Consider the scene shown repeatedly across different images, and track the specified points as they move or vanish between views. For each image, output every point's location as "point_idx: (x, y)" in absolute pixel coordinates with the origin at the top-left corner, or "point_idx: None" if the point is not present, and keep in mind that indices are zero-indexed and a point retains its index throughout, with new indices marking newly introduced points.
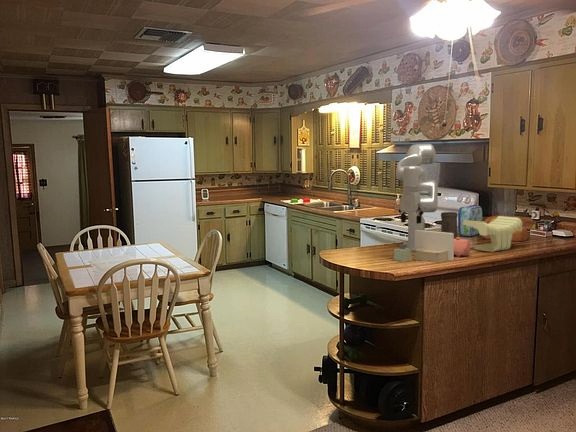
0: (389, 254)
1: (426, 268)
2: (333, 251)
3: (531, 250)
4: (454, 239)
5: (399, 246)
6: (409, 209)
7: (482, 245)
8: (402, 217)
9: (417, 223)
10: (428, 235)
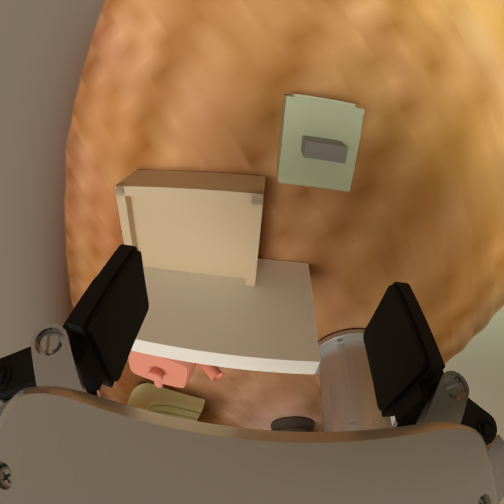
0: (417, 235)
1: (112, 38)
2: None
3: (115, 400)
4: (174, 375)
5: (341, 144)
6: (187, 492)
7: (189, 411)
8: (411, 337)
9: (127, 246)
10: (220, 334)
